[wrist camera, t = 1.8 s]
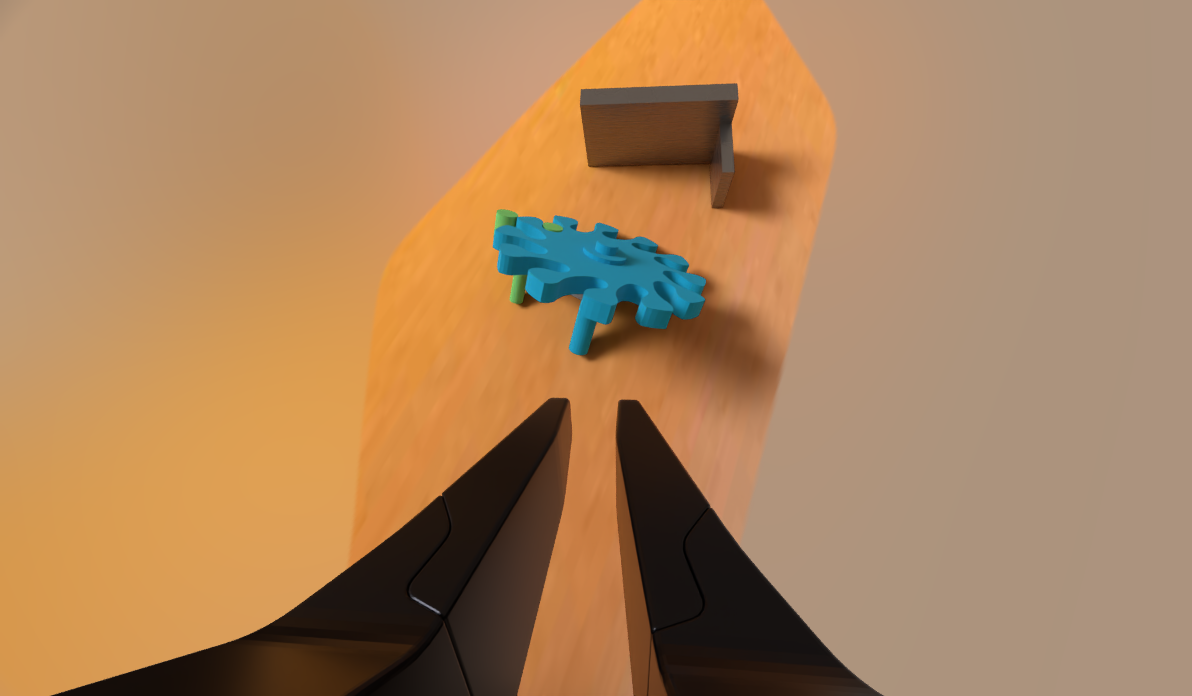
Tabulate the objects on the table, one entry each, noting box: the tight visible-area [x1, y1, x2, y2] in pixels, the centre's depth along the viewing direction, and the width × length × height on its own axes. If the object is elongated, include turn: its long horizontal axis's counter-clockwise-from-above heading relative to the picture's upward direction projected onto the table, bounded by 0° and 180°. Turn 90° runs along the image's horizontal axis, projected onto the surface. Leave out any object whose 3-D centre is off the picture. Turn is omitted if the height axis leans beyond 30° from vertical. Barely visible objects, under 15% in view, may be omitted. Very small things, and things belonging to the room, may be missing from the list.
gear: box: [493, 209, 706, 355], centre depth 21 cm, size 11×6×10 cm
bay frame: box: [580, 84, 738, 208], centre depth 23 cm, size 4×8×4 cm, turn 88°
